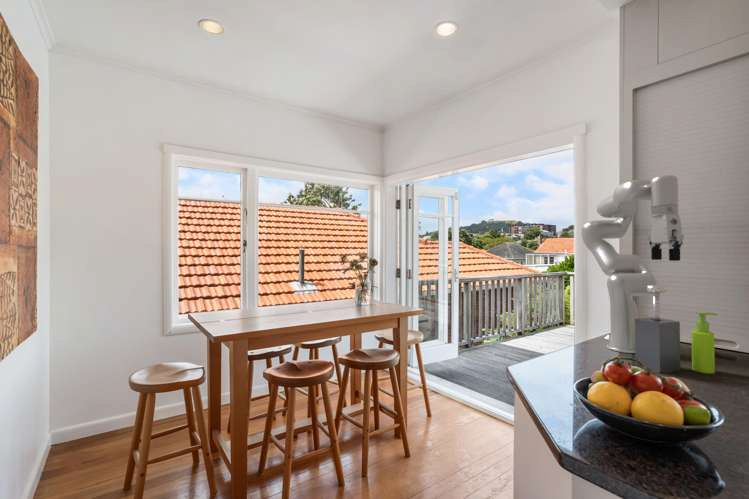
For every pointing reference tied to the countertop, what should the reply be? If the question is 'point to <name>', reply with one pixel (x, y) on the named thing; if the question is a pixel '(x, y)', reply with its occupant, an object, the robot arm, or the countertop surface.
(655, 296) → the plunger
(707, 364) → the soap dispenser
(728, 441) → the countertop surface
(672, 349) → the block
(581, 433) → the countertop surface
